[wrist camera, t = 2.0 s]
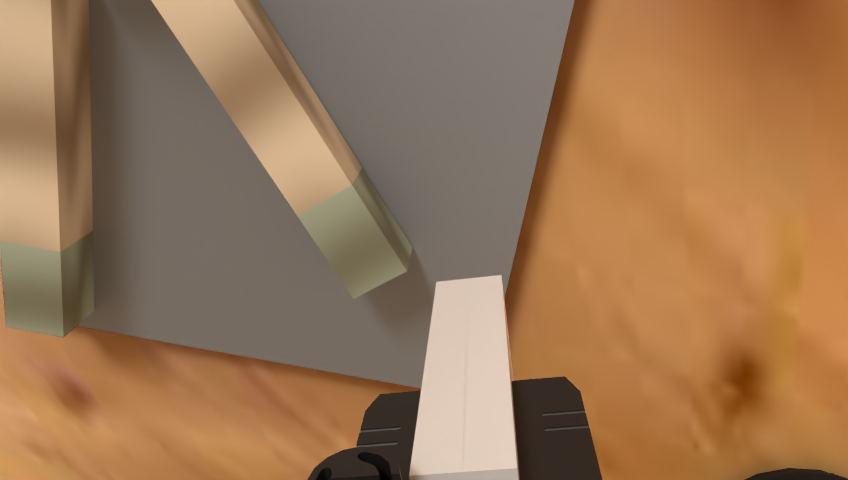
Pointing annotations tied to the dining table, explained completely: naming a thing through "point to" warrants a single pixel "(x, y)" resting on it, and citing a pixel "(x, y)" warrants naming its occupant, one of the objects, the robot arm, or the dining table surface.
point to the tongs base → (46, 165)
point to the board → (267, 207)
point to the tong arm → (292, 136)
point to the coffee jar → (796, 475)
